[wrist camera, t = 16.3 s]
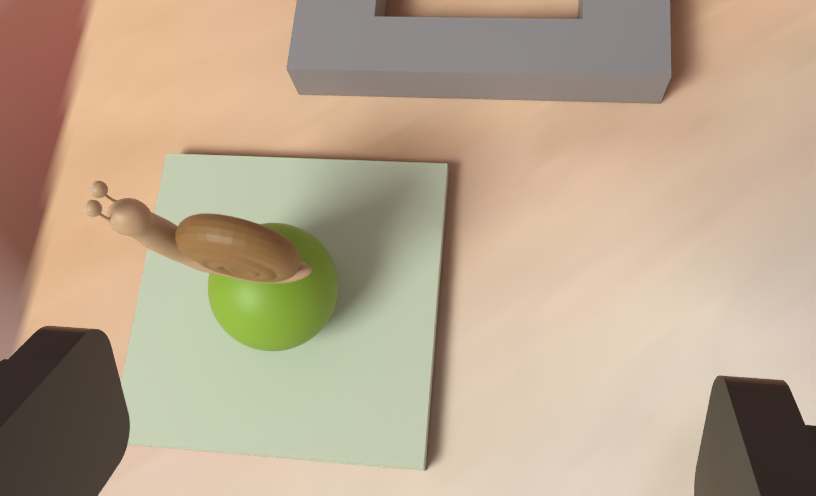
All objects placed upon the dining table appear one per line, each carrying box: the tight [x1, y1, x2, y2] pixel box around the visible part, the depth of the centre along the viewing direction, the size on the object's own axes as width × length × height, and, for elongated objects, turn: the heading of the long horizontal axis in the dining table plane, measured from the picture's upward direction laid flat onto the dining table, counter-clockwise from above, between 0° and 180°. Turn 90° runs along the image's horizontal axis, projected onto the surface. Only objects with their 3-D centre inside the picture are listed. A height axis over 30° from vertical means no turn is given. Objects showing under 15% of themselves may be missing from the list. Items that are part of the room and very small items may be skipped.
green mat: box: [121, 153, 449, 471], centre depth 36 cm, size 14×14×1 cm
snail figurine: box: [85, 181, 338, 351], centre depth 30 cm, size 5×6×12 cm
